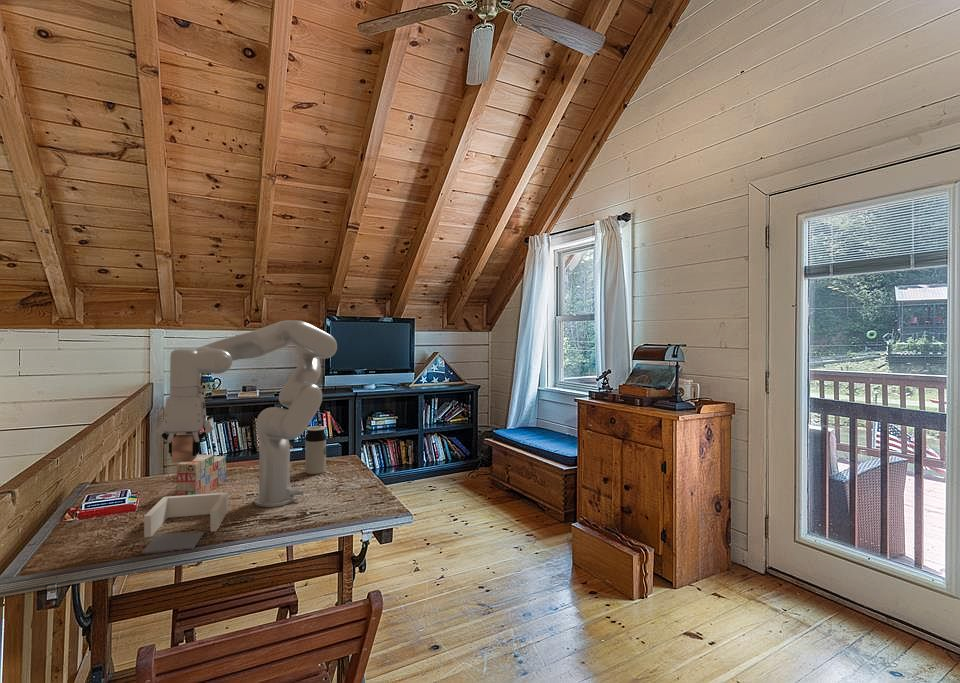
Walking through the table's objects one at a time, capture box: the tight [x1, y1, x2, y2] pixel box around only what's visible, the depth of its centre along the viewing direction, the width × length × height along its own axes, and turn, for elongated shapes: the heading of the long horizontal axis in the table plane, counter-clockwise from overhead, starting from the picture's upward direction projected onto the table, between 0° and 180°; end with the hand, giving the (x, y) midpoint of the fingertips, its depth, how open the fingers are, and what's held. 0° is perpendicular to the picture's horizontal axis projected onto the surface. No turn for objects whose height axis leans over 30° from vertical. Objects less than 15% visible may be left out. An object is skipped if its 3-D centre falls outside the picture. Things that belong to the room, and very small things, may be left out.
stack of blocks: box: [176, 454, 227, 496], centre depth 176 cm, size 21×6×12 cm, turn 1°
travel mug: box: [304, 425, 327, 475], centre depth 199 cm, size 8×8×18 cm
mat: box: [141, 531, 205, 555], centre depth 133 cm, size 12×10×1 cm
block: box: [171, 433, 198, 463], centre depth 141 cm, size 5×5×7 cm
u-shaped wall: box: [143, 492, 229, 538], centre depth 146 cm, size 18×16×6 cm
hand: (184, 454), depth 141 cm, fingers closed on block, 4 cm apart
